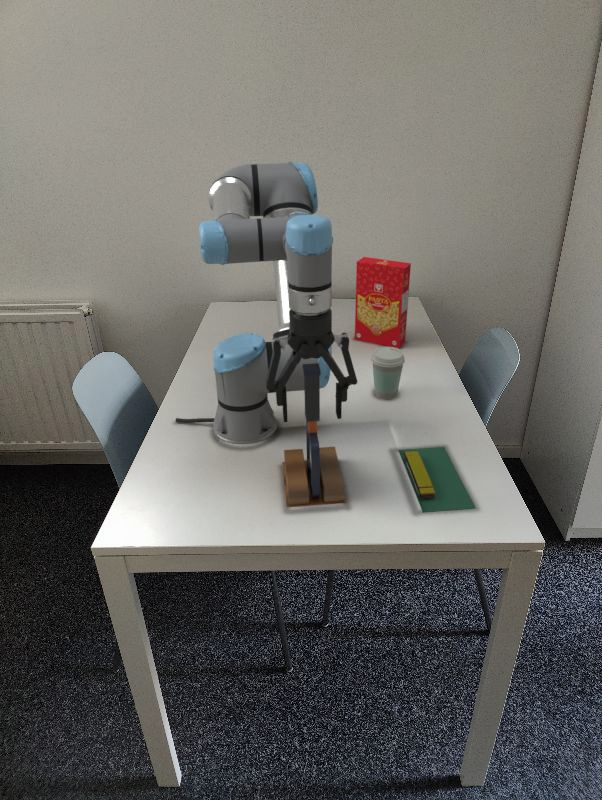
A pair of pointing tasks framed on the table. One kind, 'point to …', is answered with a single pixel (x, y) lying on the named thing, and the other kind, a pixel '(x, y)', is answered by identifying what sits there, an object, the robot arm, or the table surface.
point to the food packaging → (381, 301)
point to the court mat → (440, 481)
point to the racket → (312, 424)
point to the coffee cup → (387, 371)
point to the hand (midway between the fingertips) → (311, 416)
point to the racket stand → (299, 480)
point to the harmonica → (419, 474)
